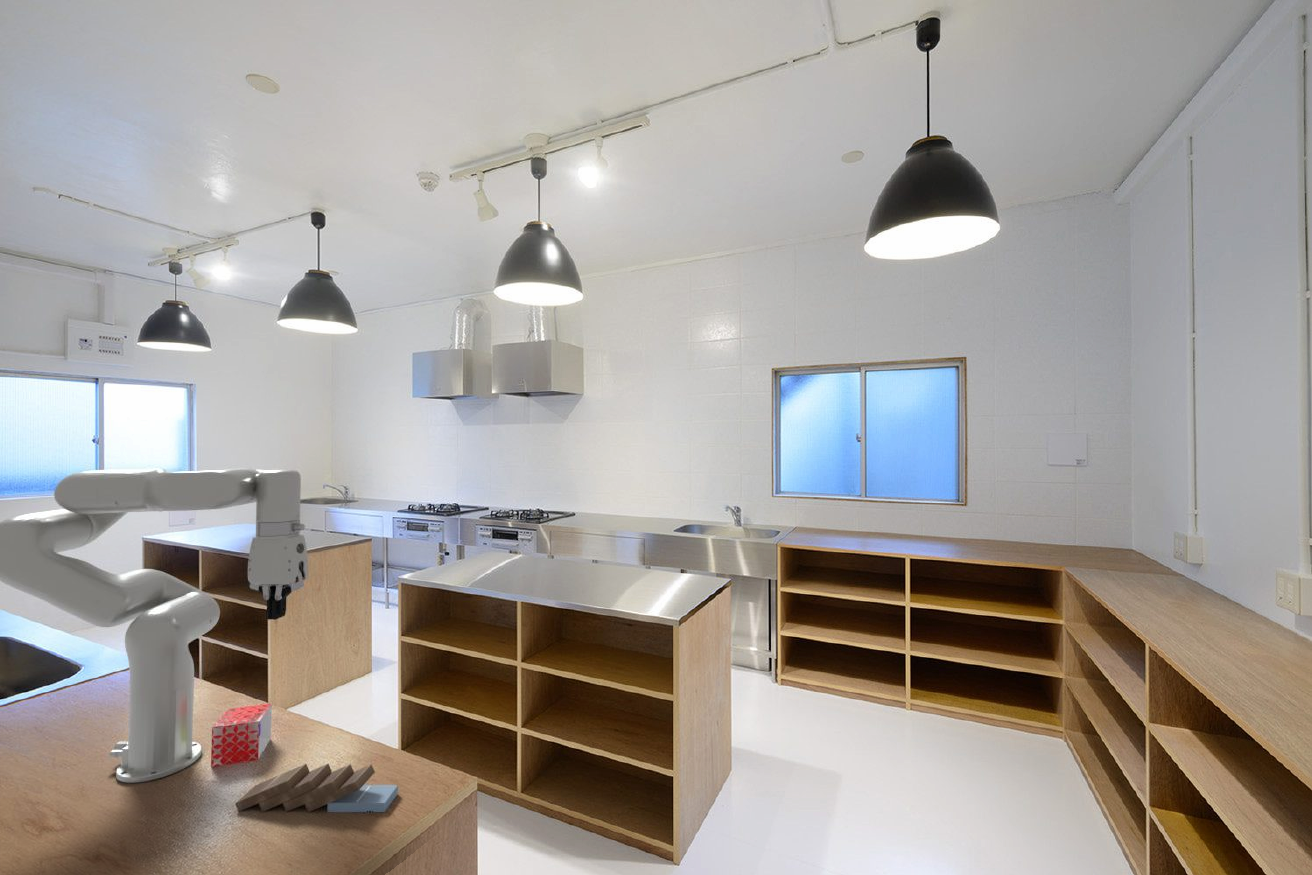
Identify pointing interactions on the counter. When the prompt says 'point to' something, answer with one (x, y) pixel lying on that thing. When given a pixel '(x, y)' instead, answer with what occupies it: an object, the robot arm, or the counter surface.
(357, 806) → the domino
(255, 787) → the domino
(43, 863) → the counter surface
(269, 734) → the red patterned cube
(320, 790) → the domino
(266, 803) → the domino
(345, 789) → the domino
